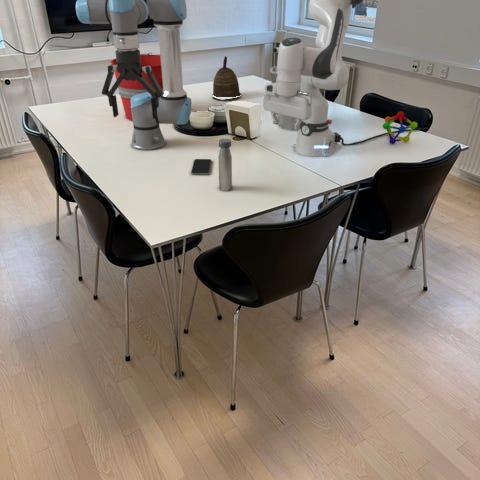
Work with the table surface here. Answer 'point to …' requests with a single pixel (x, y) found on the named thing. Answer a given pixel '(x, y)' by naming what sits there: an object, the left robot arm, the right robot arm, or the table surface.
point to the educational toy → (398, 128)
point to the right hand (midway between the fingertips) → (285, 126)
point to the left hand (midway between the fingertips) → (135, 116)
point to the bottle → (225, 169)
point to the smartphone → (201, 166)
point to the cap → (224, 143)
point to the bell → (225, 82)
